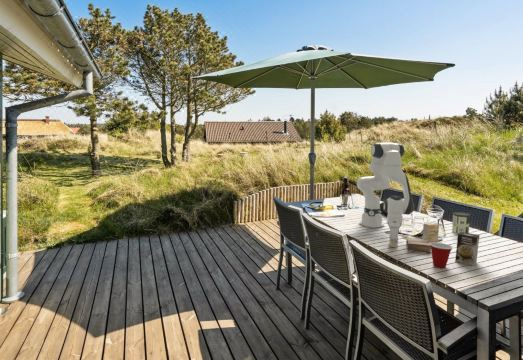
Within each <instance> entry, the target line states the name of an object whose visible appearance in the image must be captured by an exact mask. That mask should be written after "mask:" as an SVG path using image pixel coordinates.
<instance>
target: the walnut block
mask: <svg viewBox="0 0 523 360" xmlns="http://www.w3.org/2000/svg"><path fill="white" fill-rule="evenodd" d="M405 242H406V243H405V245H406V249H407V251H408V252H415V251H417V252H416V253H427V254H431V246H430V243H429V241H428V239H423V238H418V237H417V238H415V237H409V236H408V237H406V241H405Z"/></svg>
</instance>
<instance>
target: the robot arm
mask: <svg viewBox="0 0 523 360" xmlns="http://www.w3.org/2000/svg"><path fill="white" fill-rule="evenodd" d="M370 154H371V156H372V157H371V161H370V165H369V171H370V172H371V173H372V174H374V175H373V176H372V175H371V176H362V177H361V176H360V177H358V179H357V181H356V187H357V188H358V189H359V190H360V192H362V195H363V196H364V208H363V212H362V213H361V220H360V221H359V222H358V224H359V225H362V226H363V227H366V228H373V229H374V228H381V227H383V228H385V224H384V223H383V215H382V214H381V211H380V204H381V197H379V196H378V195H377V194H375V191H383V190H388V189H389V188H390V185H391V181H392V182H396V183H397V184H399V185H400V186H401V188H402V191H403V192H402V193H403V197H404V198H403V197H401V196H399V195H396V194H395V195H394V194H392V195H390V196H389V198H386V199H384V201H383V202H384V206H383V210H384V211H386V212H388V215H386V224H387V225H388V227H389V235H390V238H391V240H392V244H395V240H397V237H398V238H399V232H400V231H399V230H400V228H401V226H403V215H411V214H413V212H415V203H414V200H413V196H412V191H411V185H410V182H409V178H408V176H407V174H405V173H404V171H403V165H402V157H404V155H405V147H404V145H403V144H402V143H396V142H376V143H375V142H374V143H373V144H372V145H371V147H370Z"/></svg>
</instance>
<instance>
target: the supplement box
mask: <svg viewBox="0 0 523 360" xmlns="http://www.w3.org/2000/svg"><path fill="white" fill-rule="evenodd" d="M422 227H423V228H422V239H428V241H429V243H432V242H436V243H439V242H438V241H439V229H440V223H437V222H427V223H426V222H425V223H423V226H422Z"/></svg>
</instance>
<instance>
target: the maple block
mask: <svg viewBox="0 0 523 360" xmlns="http://www.w3.org/2000/svg"><path fill="white" fill-rule="evenodd" d="M388 236H389V239H388V241H389V242H388V247H392V248H393V247H394V248H398V246H399V243H398V242H399V236H398V237H397V240H395V244H392V240H391V238H390V234H389V235H388Z"/></svg>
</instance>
